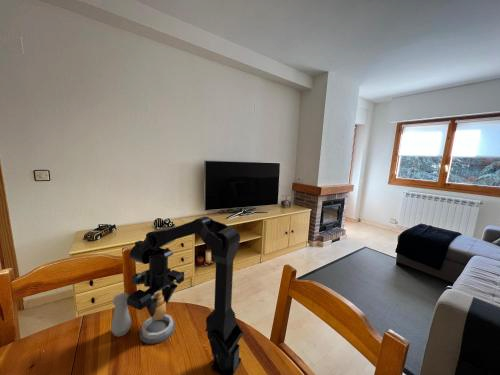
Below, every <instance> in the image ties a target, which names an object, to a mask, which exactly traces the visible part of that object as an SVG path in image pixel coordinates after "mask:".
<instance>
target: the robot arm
mask: <svg viewBox="0 0 500 375" xmlns="http://www.w3.org/2000/svg"><path fill="white" fill-rule="evenodd" d="M194 234H198V235H199V237H200V238H201V240H202V242H203V243H204V244H205V245H207V246H208V247H209V248H210V255H211V256H212V258H213V260H214V261H215V278H214V304H213V305H214V309H213V310H212V311H211V312H210V313H209V314H208V315H207V316H206V320H205V323H206V326H205V327H206V328H205V333H206V336H207V339H208V341H209V345H210V348H211V349H210V350H211V353H212V354H213V358H212V360H213V364H212V365H211V371H214V372H215V373H217V374H220V375H235V373H236V371H237V370H238V368H239V366H240V364H241V362H242V358H241V357H240V344H238V343H239V342H240V340H241V339H242V336H244V331H243V330H242V328H241V326H240V325H239V324H238V323H237V320H236V313H235V311H234V310H233V308H232V301H233V300H232V299H233V297H232V295H233V275H234V273H233V271H234V260H235V258H236V256H237V253H238V250H239V246H240V242H241V236H240V235H241V234H240V232H238V230H237V229H236V228H234V227H232V226H231V227H230V226H228V225H227V224H225V223H222V222H220V221H218V220H217V221H216V220H214V219H213V218H211V217H209V216H201V217H199V218H195V219H194V220H192V221H189V222H186V223H183V224H181V225H178V226H174V227H172V226H168V227H162V228H157V229H155V230H152V231H149V232H146V234H145V238H144V240H137V241H135V242H134V246H132V248H131V249H130V252H129V258H130V259H131V260H132V261H135V262H137V263H141V264H144V265H148V269H147V270H144V271H142V272H136V273H134V274H132V275H131V283H132V285H133V286H135V285H136V286H137V285H138V286H140V285H143V286H144V287H146V288H147V290H145V291H144V290H141V289H137V290H136V291H134V292H133V293H131V294H128V297H127V306H129V307H132V308H134V309H136V310H138V311H139V310H143V309H145V308H146V309H147V311H148V313H149V314H148V315H149V317H150V316H152V317H153V316H154V313H155V309H156V304H157V299H155V298H154V295H155V294H157V293H158V292H160V291H161V293H162V295H164V300H165V301H166V306H167V305H168V304H169V301H170V299H171V297H172V296H173V294H174V292H175V290H176V289H177V288H178V285H180V284H181V283H183V282H184V281H185V274H184V273H183V272H181V271H178V270H175V269H172V270H171V268H169V257H171V256H172V255H174V252H173V251H172V250H171V249H170V248H169V247H166V248H163V247H165V246H168V245H169V244H171V243H172V242H173V243H174V242H175V240H178V239H182V238H185V237H188V236H191V235H194Z"/></svg>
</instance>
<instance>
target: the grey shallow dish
mask: <svg viewBox="0 0 500 375" xmlns="http://www.w3.org/2000/svg"><path fill="white" fill-rule="evenodd" d="M175 329H176V322H175V320H174V319H173V317H172V316H171V315H169V314H167V313H166V314H165V316H164V317H163V318H161V319H157V320H154V319H152V318H151V317H150V316H149V318H147V319H146V320H144V322H143V324H142V326H141V328H140V329H139V339H140V340H141V342H143V344H147V345H155V344H156V345H157V344H160V343H162V342H165V341H167V340H169V338H171V337H172V335H173V334H174V332H175Z"/></svg>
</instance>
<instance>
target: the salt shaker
mask: <svg viewBox="0 0 500 375" xmlns="http://www.w3.org/2000/svg"><path fill="white" fill-rule="evenodd" d="M128 296H129V294H128V293H126V292H120V293H118V294H116V295H114V297H113V299H112V303H113V306H114V312H113V315H112V320H111V327H110V331H111V333H112V334H113V336H115V337H117V338H121V337H123V336H125V335H126V334H127V333H128V332H129V331H130V328H131V326H132V318H131V315H130V312H129V307H128V305H127V297H128Z"/></svg>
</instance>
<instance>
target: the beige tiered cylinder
mask: <svg viewBox="0 0 500 375" xmlns="http://www.w3.org/2000/svg"><path fill="white" fill-rule="evenodd" d="M154 298H155V299H157V304H156V309H155V313H154V316H153V317H152V316H150V315H149V318H150V317H151V318H152V319H154V320H157V319H161V318H163V317H164V316H165V314H167V305H166V301H165V300H164V295H162V292H159V293H158V292H157V293H155V294H154Z"/></svg>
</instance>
